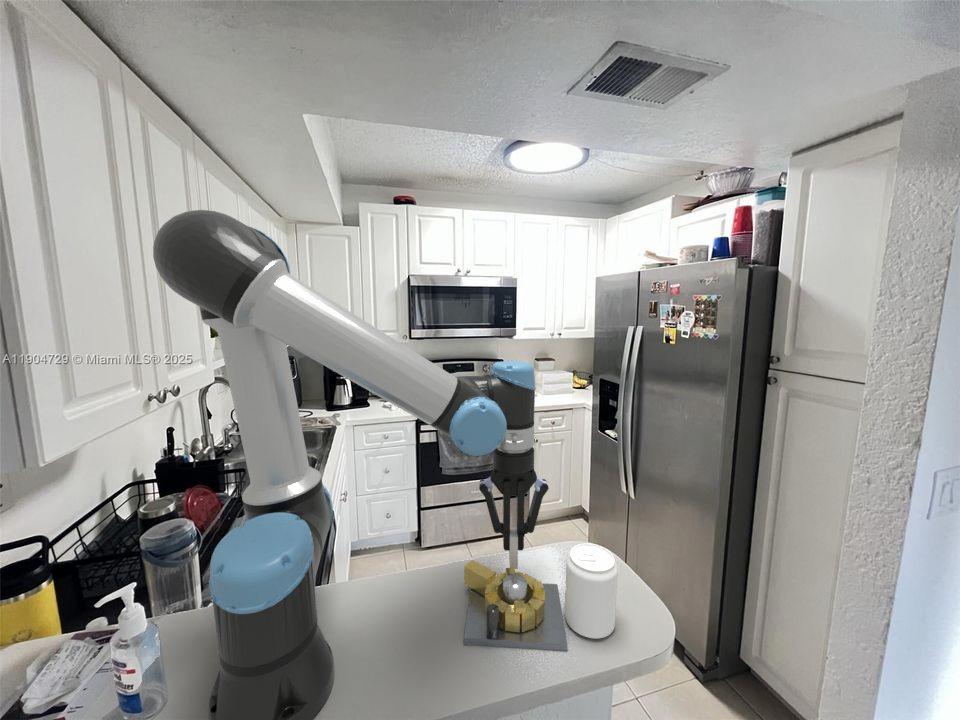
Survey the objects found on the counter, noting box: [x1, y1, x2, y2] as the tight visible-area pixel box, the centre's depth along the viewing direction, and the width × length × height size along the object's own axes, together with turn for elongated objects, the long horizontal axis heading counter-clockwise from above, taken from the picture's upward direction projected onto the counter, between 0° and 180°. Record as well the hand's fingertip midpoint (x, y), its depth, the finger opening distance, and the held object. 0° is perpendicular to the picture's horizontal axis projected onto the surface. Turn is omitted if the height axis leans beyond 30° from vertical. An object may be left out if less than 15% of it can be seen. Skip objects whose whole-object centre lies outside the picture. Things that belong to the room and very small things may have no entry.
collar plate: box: [463, 574, 568, 652], centre depth 67 cm, size 16×13×6 cm
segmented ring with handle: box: [463, 559, 545, 632], centre depth 69 cm, size 16×10×4 cm, turn 51°
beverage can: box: [564, 542, 619, 640], centre depth 65 cm, size 8×8×12 cm
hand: (513, 564), depth 75 cm, fingers closed
